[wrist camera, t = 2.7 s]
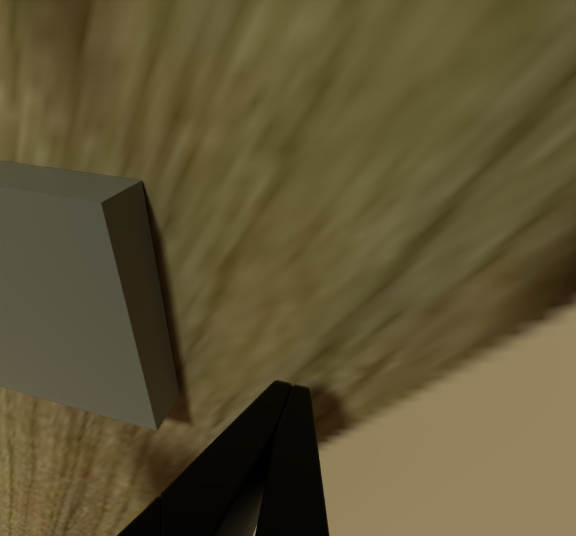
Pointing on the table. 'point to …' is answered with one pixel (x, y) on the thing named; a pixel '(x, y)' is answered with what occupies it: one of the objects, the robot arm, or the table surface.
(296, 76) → the table surface
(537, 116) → the table surface
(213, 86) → the table surface
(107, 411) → the thin grey plate
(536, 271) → the table surface
